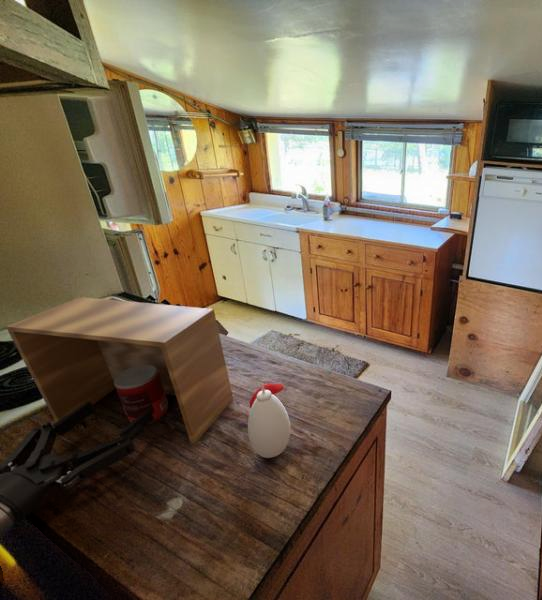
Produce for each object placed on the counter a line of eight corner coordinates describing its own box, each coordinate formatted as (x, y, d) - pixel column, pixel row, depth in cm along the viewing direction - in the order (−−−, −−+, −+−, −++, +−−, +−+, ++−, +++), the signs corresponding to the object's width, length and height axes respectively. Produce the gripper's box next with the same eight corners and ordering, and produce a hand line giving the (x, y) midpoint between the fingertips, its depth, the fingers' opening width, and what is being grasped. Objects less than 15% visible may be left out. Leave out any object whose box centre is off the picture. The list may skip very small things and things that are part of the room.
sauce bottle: (253, 442, 69) (240, 373, 62) (291, 433, 72) (283, 366, 64) (252, 473, 63) (237, 400, 55) (294, 462, 65) (285, 391, 58)
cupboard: (57, 426, 71) (5, 326, 61) (115, 385, 84) (80, 296, 73) (195, 444, 68) (164, 342, 58) (233, 398, 81) (213, 309, 71)
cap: (260, 423, 74) (256, 402, 72) (246, 410, 77) (242, 390, 75) (290, 404, 80) (287, 384, 78) (276, 393, 83) (273, 374, 81)
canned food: (162, 396, 80) (150, 360, 76) (174, 412, 76) (162, 374, 71) (124, 413, 75) (108, 375, 70) (134, 431, 70) (118, 391, 66)
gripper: (-65, 515, 51) (73, 417, 71) (77, 538, 49) (180, 430, 68) (-92, 482, 48) (60, 389, 67) (58, 506, 46) (171, 403, 65)
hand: (120, 410), depth 68 cm, fingers open, 13 cm apart
